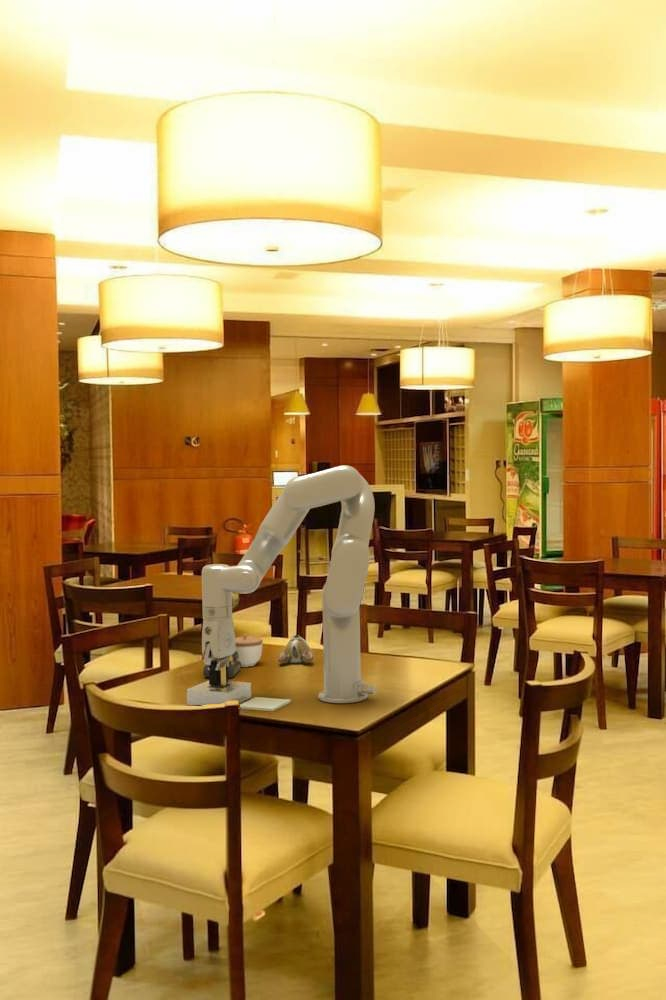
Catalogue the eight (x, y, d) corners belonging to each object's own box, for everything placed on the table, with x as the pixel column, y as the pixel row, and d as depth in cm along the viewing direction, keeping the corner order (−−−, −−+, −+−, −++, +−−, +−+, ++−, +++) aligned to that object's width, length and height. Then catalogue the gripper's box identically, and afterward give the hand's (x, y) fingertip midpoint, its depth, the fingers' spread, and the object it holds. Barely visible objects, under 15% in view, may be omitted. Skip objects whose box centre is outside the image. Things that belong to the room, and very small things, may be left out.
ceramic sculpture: (314, 629, 308) (312, 641, 293) (315, 656, 308) (313, 669, 294) (281, 630, 308) (276, 641, 293) (282, 657, 309) (277, 670, 294)
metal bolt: (234, 695, 253) (232, 656, 252) (224, 699, 248) (223, 659, 248) (217, 694, 255) (215, 655, 254) (207, 698, 250) (206, 658, 250)
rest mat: (291, 702, 249) (290, 699, 249) (273, 711, 240) (273, 708, 240) (256, 699, 253) (256, 697, 253) (237, 708, 244) (237, 705, 244)
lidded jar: (265, 661, 303) (264, 631, 303) (260, 668, 292) (259, 637, 292) (231, 661, 304) (230, 631, 304) (224, 668, 293) (224, 637, 293)
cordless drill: (195, 684, 273) (193, 594, 272) (214, 669, 293) (212, 586, 292) (227, 684, 272) (225, 594, 271) (243, 669, 291) (241, 586, 291)
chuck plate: (251, 697, 255) (250, 682, 255) (228, 708, 244) (228, 692, 243) (210, 694, 259) (210, 679, 259) (187, 705, 248) (186, 689, 248)
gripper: (214, 617, 242) (215, 691, 242) (245, 608, 257) (246, 678, 257) (187, 616, 245) (189, 689, 245) (220, 607, 260) (221, 676, 260)
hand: (218, 683), depth 251 cm, fingers closed on metal bolt, 3 cm apart
